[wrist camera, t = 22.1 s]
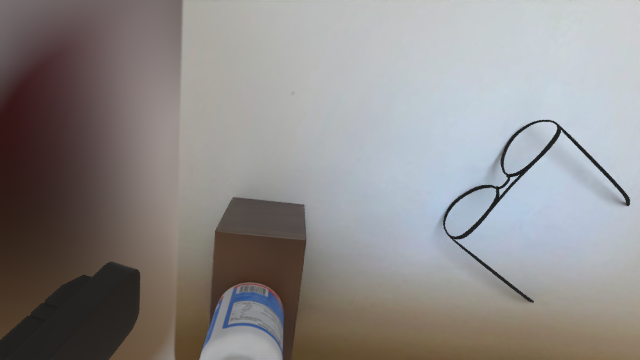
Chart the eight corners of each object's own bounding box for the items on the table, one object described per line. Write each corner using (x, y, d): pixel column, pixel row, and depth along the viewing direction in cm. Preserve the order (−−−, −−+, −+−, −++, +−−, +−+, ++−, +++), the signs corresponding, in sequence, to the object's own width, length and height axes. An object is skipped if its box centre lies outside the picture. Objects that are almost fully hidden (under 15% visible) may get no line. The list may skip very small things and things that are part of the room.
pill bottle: (246, 351, 34) (227, 457, 24) (202, 306, 33) (164, 399, 23) (298, 314, 33) (299, 408, 24) (256, 266, 32) (239, 346, 23)
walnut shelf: (232, 197, 40) (215, 230, 31) (304, 204, 40) (306, 239, 32) (223, 315, 43) (204, 375, 34) (289, 320, 44) (288, 381, 35)
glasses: (532, 112, 40) (569, 121, 35) (615, 197, 44) (658, 216, 39) (432, 223, 42) (455, 245, 37) (522, 293, 46) (552, 321, 42)
